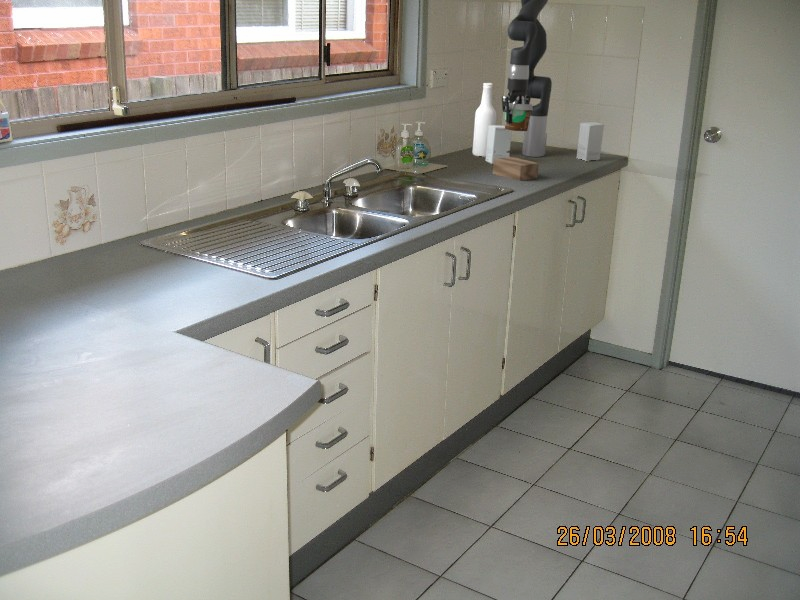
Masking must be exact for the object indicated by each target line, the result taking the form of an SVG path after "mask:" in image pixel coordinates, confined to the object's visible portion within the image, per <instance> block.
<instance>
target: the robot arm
mask: <svg viewBox="0 0 800 600" xmlns="http://www.w3.org/2000/svg"><path fill="white" fill-rule="evenodd" d="M548 1H549V0H520V3H521V4H520V5H521V8H520V10H519V12H518V15H517V16H516V17H514V18H513V19H512V20H511V21H510V22H509V24H508V27H507V36H508V38H509V39H510V40H511V41H517V42H523V46H519V47H513V48H512V49H511V51H510V60H509V67H508V75H507V76H508V77H507V87H506V89H507V90H508V93H507V95H502V96H501V105H502V106H501V108H502V112H503V113H505V112H506V123H507V124H512V113H513V109H512V108H511V109H510V110H509V103H514V104H531V99H535V100H537V99H538V100H540V101H539V103H537V104H535V105H532V106H533V110H531V114H530V119H529V125H528V130H527V131H523V140H522V152H521V155H522V154H523V156H525V157H532V158H540V157H541V156H542V157H544V156H545V155H546V146H547V137H548V133H547V124H548V114H549V108H550V107H549V106H550V99H551V94H552V93H551V92H552V85H553V84H552V83H553V82H552V78H551V77H549V76H539V75H535V68H536V67H537V65H538V64H539V62H540V61H541V59H542V58H543V57H544V55H545V53H546V51H547V48H548V46H547V42H548V41H547V32H546V30H545V28H544V25H542V23H541V22H540V21H539V19H538V16H539V14H540V13H541V12H542V10H543V9H544V7H545V6H546V5H547V3H548ZM514 104H513V107H514ZM505 106H506V108H505Z"/></svg>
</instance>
